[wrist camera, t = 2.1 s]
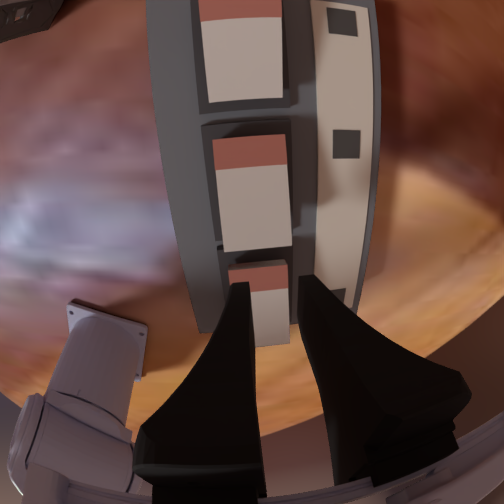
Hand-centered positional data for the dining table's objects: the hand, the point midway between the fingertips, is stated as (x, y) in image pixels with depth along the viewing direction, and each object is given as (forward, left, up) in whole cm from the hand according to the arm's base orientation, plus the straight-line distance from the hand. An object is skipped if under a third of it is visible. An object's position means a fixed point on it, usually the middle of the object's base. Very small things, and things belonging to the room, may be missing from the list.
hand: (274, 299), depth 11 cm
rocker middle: (+2, +1, -4) cm, 5 cm away
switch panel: (+3, 0, -9) cm, 10 cm away
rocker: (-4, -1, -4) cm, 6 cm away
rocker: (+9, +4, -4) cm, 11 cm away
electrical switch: (+11, +21, -10) cm, 26 cm away
